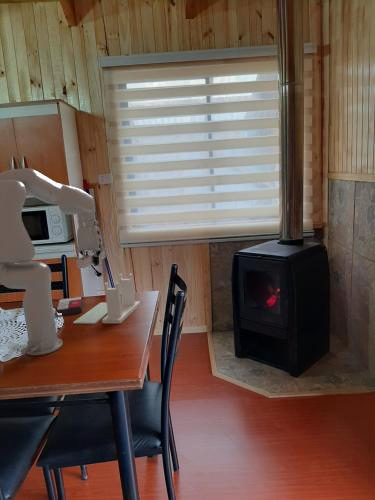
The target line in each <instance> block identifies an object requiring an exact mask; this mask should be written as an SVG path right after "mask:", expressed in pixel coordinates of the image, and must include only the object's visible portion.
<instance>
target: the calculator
mask: <svg viewBox="0 0 375 500" xmlns="http://www.w3.org/2000/svg"><path fill="white" fill-rule="evenodd" d="M83 304H84V302H83V297H82V296H77V297H72V298H71V297H69V298H63V299H59V300H58V302H57V307H56V310H55V312H56V311H57V312H58V313H62V315H63V316H69V315H74V314H75V315H76V314H81V313H82V312H83V306H84V305H83Z"/></svg>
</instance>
